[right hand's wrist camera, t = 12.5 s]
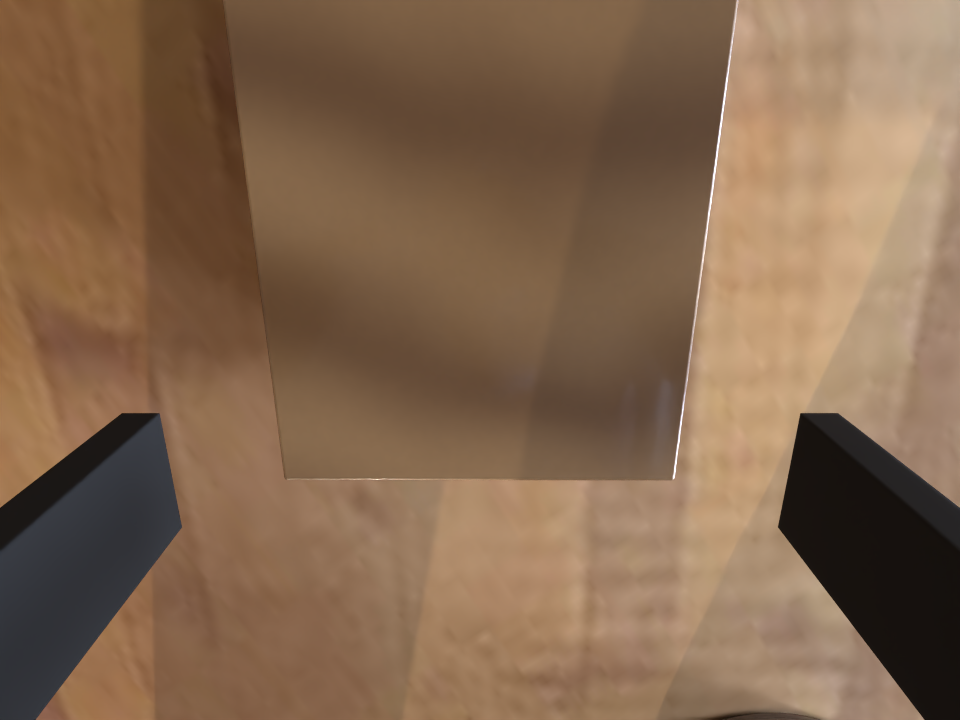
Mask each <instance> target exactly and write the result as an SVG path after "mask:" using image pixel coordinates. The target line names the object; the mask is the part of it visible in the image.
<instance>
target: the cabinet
mask: <svg viewBox="0 0 960 720" xmlns="http://www.w3.org/2000/svg"><path fill="white" fill-rule="evenodd" d="M223 7H224V15H225V23H226V30H227V38H228V46H229V53H230V61H231V69H232V77H233V84H234V92H235V100H236V107H237V115H238V123H239V131H240V138H241V146H242V154H243V161H244V169H245V177H246V185H247V192H248V200H249V208H250V215H251V223H252V231H253V239H254V246H255V254H256V262H257V269H258V277H259V285H260V293H261V300H262V308H263V316H264V323H265V331H266V339H267V347H268V354H269V362H270V370H271V377H272V385H273V393H274V401H275V408H276V416H277V424H278V431H279V439H280V447H281V454H282V462H283V470H284V477H285V479H286V480H673V479H674V476H675V469H676V462H677V454H678V447H679V439H680V432H681V424H682V417H683V409H684V402H685V395H686V387H687V380H688V372H689V365H690V357H691V350H692V342H693V335H694V328H695V320H696V313H697V305H698V298H699V290H700V283H701V275H702V268H703V261H704V253H705V246H706V238H707V231H708V223H709V216H710V208H711V201H712V194H713V186H714V179H715V171H716V164H717V156H718V149H719V141H720V134H721V127H722V119H723V112H724V104H725V97H726V89H727V82H728V74H729V67H730V59H731V52H732V45H733V37H734V30H735V22H736V15H737V7H738V0H223Z"/></svg>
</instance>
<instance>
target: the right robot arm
mask: <svg viewBox="0 0 960 720" xmlns="http://www.w3.org/2000/svg"><path fill="white" fill-rule="evenodd" d="M181 528H182V525H181V520H180V515H179V510H178V505H177V500H176V495H175V490H174V485H173V479H172V474H171V469H170V464H169V459H168V454H167V449H166V444H165V439H164V434H163V429H162V424H161V419H160V414H159V413H122V414H121V415H119V416H118V417H117V418H115V419H114V420H113V421H112V422H110V423H109V424H108V425H106V426H105V427H104V428H102V429H101V430H100V431H99V432H97V433H96V434H95V435H93V436H92V437H91V438H90V439H88V440H87V441H86V442H84V443H83V444H82V445H81V446H79V447H78V448H77V449H75V450H74V451H73V452H72V453H70V454H69V455H68V456H66V457H65V458H64V459H63V460H61V461H60V462H59V463H57V464H56V465H55V466H54V467H52V468H51V469H50V470H48V471H47V472H46V473H44V474H43V475H42V476H41V477H39V478H38V479H37V480H35V481H34V482H33V483H32V484H30V485H29V486H28V487H26V488H25V489H24V490H23V491H21V492H20V493H19V494H17V495H16V496H15V497H14V498H12V499H11V500H10V501H8V502H7V503H6V504H5V505H3V506H2V507H1V508H0V720H36V718H37V717H38V716H39V714H40V713H41V712H42V710H43V709H44V708H45V706H46V705H47V704H48V702H49V701H50V700H51V699H52V697H53V696H54V695H55V693H56V692H57V691H58V689H59V688H60V687H61V685H62V684H63V683H64V681H65V680H66V679H67V678H68V676H69V675H70V674H71V672H72V671H73V670H74V668H75V667H76V666H77V664H78V663H79V662H80V660H81V659H82V658H83V657H84V655H85V654H86V653H87V651H88V650H89V649H90V647H91V646H92V645H93V643H94V642H95V641H96V639H97V638H98V637H99V635H100V634H101V633H102V632H103V630H104V629H105V628H106V626H107V625H108V624H109V622H110V621H111V620H112V618H113V617H114V616H115V614H116V613H117V612H118V611H119V609H120V608H121V607H122V605H123V604H124V603H125V601H126V600H127V599H128V597H129V596H130V595H131V593H132V592H133V591H134V590H135V588H136V587H137V586H138V584H139V583H140V582H141V580H142V579H143V578H144V576H145V575H146V574H147V572H148V571H149V570H150V568H151V567H152V566H153V565H154V563H155V562H156V561H157V559H158V558H159V557H160V555H161V554H162V553H163V551H164V550H165V549H166V547H167V546H168V545H169V544H170V542H171V541H172V540H173V538H174V537H175V536H176V534H177V533H178V532H179V530H180V529H181ZM778 528H779V529H780V530H781V532H782V533H783V534H784V536H785V537H786V538H787V540H788V541H789V542H790V544H791V545H792V546H793V547H794V549H795V550H796V551H797V553H798V554H799V555H800V557H801V558H802V559H803V561H804V562H805V563H806V565H807V566H808V567H809V568H810V570H811V571H812V572H813V574H814V575H815V576H816V578H817V579H818V580H819V582H820V583H821V584H822V586H823V587H824V588H825V590H826V591H827V592H828V593H829V595H830V596H831V597H832V599H833V600H834V601H835V603H836V604H837V605H838V607H839V608H840V609H841V611H842V612H843V613H844V614H845V616H846V617H847V618H848V620H849V621H850V622H851V624H852V625H853V626H854V628H855V629H856V630H857V632H858V633H859V634H860V635H861V637H862V638H863V639H864V641H865V642H866V643H867V645H868V646H869V647H870V649H871V650H872V651H873V653H874V654H875V655H876V657H877V658H878V659H879V660H880V662H881V663H882V664H883V666H884V667H885V668H886V670H887V671H888V672H889V674H890V675H891V676H892V678H893V679H894V680H895V681H896V683H897V684H898V685H899V687H900V688H901V689H902V691H903V692H904V693H905V695H906V696H907V697H908V699H909V700H910V701H911V702H912V704H913V705H914V706H915V708H916V709H917V710H918V712H919V713H920V714H921V716H922V717H923V718H924V720H960V508H959V507H958V506H957V505H955V504H954V503H953V502H952V501H950V500H949V499H948V498H946V497H945V496H944V495H943V494H941V493H940V492H939V491H937V490H936V489H935V488H934V487H932V486H931V485H930V484H928V483H927V482H926V481H925V480H923V479H922V478H921V477H919V476H918V475H917V474H915V473H914V472H913V471H912V470H910V469H909V468H908V467H906V466H905V465H904V464H903V463H901V462H900V461H899V460H897V459H896V458H895V457H894V456H892V455H891V454H890V453H888V452H887V451H886V450H885V449H883V448H882V447H881V446H879V445H878V444H877V443H876V442H874V441H873V440H872V439H870V438H869V437H868V436H867V435H865V434H864V433H863V432H861V431H860V430H859V429H858V428H856V427H855V426H854V425H852V424H851V423H850V422H848V421H847V420H846V419H845V418H843V417H842V416H841V415H839V414H838V413H801V414H800V419H799V424H798V429H797V434H796V439H795V444H794V449H793V454H792V459H791V464H790V469H789V474H788V479H787V485H786V490H785V495H784V500H783V505H782V510H781V515H780V520H779V525H778ZM724 720H819V719H816V718H812V717H808V716H802V715H796V714H786V713H759V714H749V715H742V716H736V717H732V718H727V719H724Z"/></svg>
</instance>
